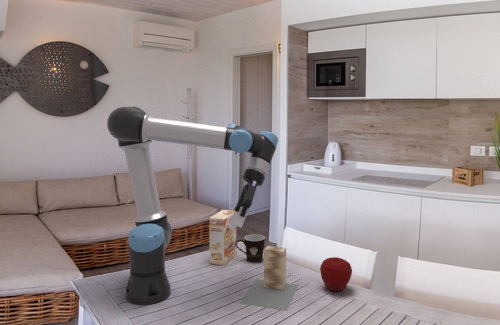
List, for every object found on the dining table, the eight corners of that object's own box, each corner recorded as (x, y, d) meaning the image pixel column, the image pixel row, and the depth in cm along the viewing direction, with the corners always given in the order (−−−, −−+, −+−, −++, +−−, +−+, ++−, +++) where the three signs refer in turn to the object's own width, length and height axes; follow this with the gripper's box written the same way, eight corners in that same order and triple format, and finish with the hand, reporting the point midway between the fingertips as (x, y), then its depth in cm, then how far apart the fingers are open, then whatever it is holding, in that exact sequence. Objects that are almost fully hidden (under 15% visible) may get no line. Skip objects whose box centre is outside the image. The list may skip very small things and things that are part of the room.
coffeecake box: (224, 265, 167) (224, 219, 165) (208, 263, 169) (208, 217, 167) (237, 253, 181) (237, 210, 179) (222, 251, 183) (221, 209, 181)
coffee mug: (268, 259, 174) (268, 236, 173) (258, 265, 167) (258, 242, 165) (245, 254, 180) (245, 232, 179) (234, 260, 173) (234, 237, 172)
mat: (238, 304, 134) (238, 303, 134) (256, 280, 153) (256, 279, 153) (286, 311, 129) (286, 310, 129) (298, 285, 148) (298, 284, 148)
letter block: (263, 287, 146) (264, 249, 144) (266, 282, 150) (267, 245, 148) (282, 289, 144) (283, 251, 142) (285, 285, 148) (286, 247, 146)
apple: (316, 292, 143) (317, 260, 142) (324, 280, 153) (324, 250, 151) (347, 298, 138) (349, 265, 137) (354, 286, 148) (355, 255, 147)
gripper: (274, 169, 135) (251, 229, 129) (257, 182, 159) (238, 233, 153) (253, 160, 135) (229, 220, 129) (240, 174, 159) (219, 226, 153)
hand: (234, 227), depth 141 cm, fingers open, 13 cm apart
